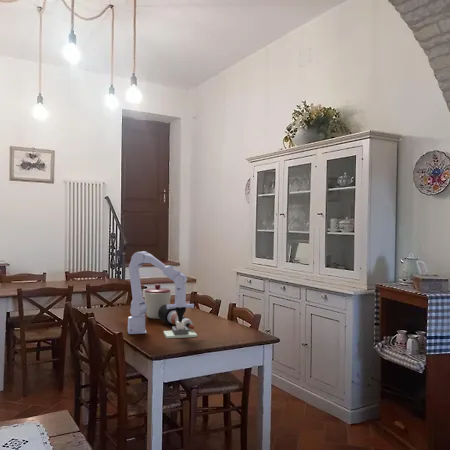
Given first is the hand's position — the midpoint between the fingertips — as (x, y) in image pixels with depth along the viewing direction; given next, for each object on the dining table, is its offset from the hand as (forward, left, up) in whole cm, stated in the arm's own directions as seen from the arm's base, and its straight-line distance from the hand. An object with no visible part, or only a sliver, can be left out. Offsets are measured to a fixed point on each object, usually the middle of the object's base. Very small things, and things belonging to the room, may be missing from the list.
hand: (180, 321), depth 253 cm
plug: (0, 0, -6) cm, 6 cm away
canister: (-6, +50, -7) cm, 51 cm away
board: (0, 0, -7) cm, 7 cm away
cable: (+2, +18, -7) cm, 19 cm away
